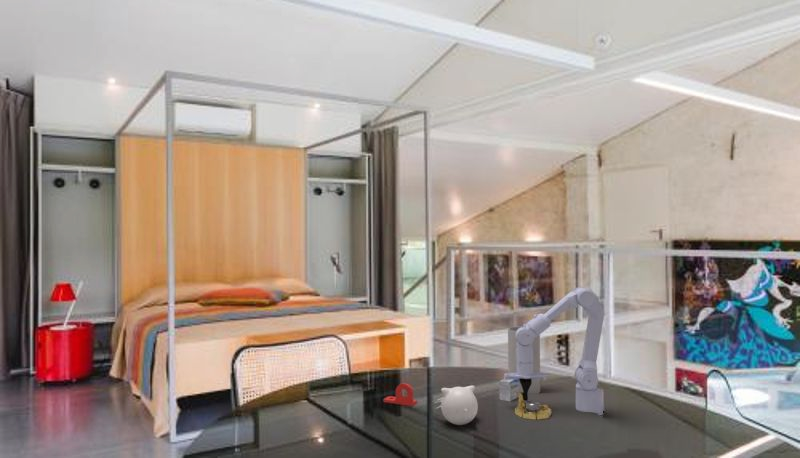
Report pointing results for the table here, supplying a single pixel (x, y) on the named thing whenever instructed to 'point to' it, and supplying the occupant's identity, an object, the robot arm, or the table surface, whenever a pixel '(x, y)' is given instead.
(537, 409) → the grey shiny rounded piece
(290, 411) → the table surface
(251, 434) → the table surface
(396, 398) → the bracket
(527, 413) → the gold octagonal ring
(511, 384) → the medicine box
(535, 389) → the cylinder vase
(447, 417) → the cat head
